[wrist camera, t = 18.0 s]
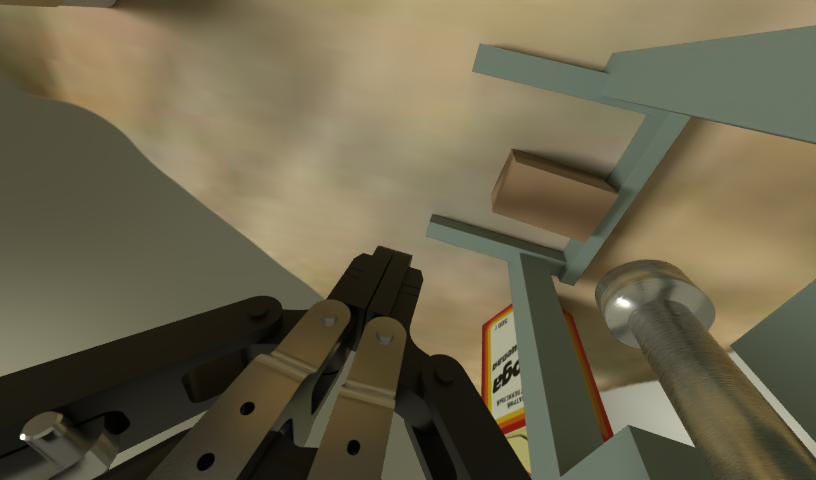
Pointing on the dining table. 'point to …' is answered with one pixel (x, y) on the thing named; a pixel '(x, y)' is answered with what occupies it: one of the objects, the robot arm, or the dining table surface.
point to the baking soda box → (505, 381)
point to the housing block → (551, 196)
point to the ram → (700, 374)
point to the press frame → (533, 265)
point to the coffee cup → (60, 3)
